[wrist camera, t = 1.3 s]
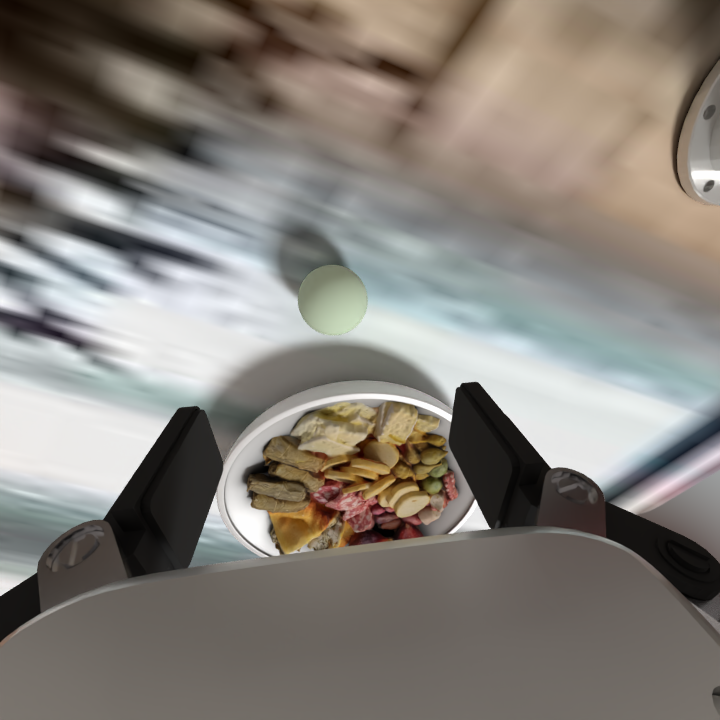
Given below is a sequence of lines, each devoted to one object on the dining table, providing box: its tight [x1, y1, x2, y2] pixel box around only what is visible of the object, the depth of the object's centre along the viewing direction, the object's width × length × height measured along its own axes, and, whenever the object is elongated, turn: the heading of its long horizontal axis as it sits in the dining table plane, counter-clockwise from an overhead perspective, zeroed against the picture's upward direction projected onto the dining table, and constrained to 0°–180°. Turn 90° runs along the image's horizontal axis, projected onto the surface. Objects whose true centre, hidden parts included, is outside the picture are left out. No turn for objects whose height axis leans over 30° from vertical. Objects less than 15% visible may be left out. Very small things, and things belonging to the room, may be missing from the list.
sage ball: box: [298, 265, 368, 335], centre depth 24 cm, size 6×6×6 cm
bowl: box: [217, 380, 478, 558], centre depth 35 cm, size 30×30×8 cm
